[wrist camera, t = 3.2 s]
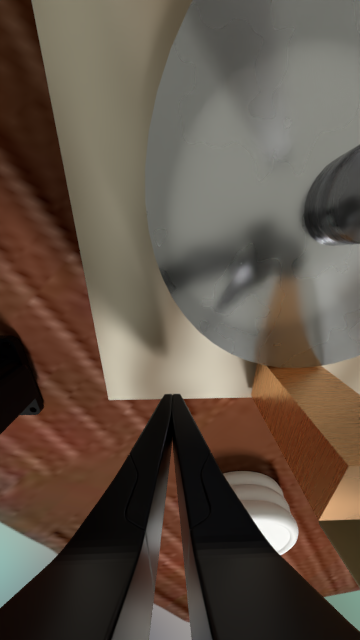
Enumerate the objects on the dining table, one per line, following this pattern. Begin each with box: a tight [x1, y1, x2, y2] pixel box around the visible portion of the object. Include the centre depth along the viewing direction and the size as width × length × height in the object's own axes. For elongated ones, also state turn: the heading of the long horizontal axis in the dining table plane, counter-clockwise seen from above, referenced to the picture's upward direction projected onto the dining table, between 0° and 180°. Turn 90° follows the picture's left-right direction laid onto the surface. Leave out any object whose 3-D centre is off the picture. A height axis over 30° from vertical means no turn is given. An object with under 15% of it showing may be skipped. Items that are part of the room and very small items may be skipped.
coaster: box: [223, 471, 298, 555], centre depth 17 cm, size 10×10×4 cm
